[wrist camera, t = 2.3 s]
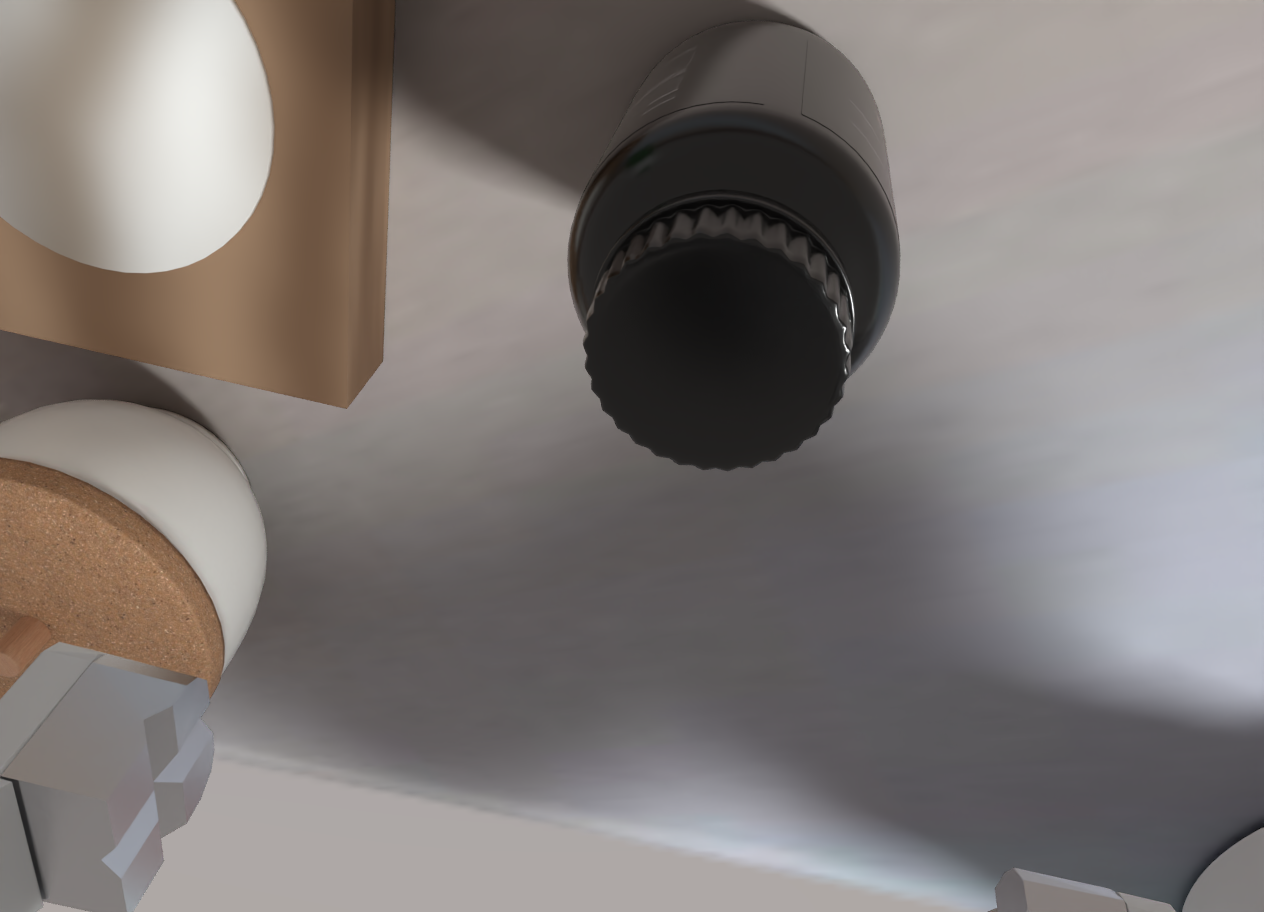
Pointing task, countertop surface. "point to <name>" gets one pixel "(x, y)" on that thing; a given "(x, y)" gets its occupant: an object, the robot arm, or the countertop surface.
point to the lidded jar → (125, 539)
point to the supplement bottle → (736, 247)
